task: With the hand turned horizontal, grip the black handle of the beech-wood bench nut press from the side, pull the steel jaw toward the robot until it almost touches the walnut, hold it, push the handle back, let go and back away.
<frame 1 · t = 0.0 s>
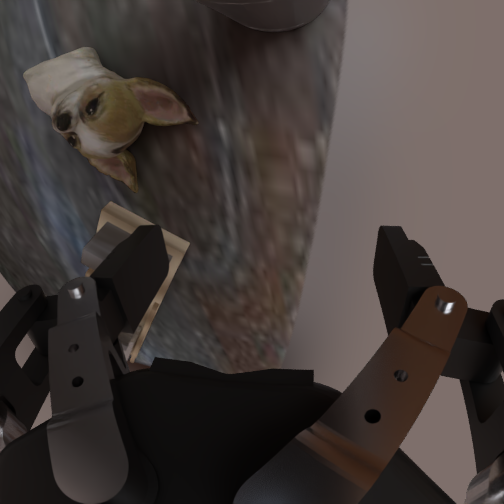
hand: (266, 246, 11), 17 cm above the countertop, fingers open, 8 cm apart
ceramic sculpture: (120, 102, 25), on the countertop
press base: (125, 289, 39), on the countertop
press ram: (82, 380, 32), point 12 cm above the countertop, slide at 0.0 cm
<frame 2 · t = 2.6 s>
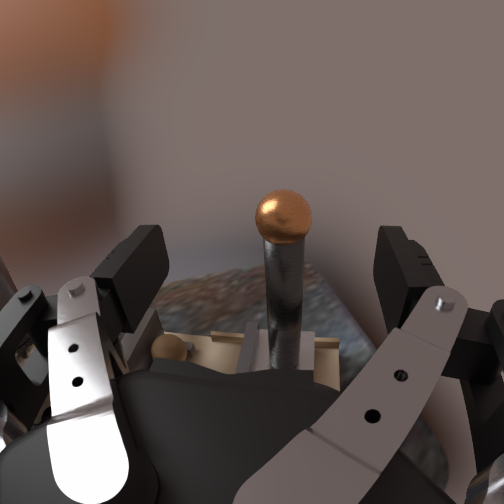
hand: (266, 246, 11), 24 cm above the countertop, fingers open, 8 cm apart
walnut: (173, 362, 34), point 2 cm above the countertop, touching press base
ceramic sculpture: (55, 393, 32), on the countertop
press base: (231, 382, 34), on the countertop
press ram: (277, 304, 27), point 12 cm above the countertop, slide at 0.0 cm
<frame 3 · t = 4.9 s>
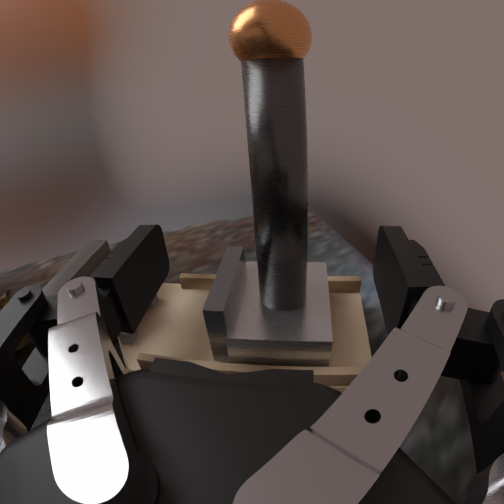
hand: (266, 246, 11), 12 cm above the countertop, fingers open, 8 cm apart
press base: (206, 343, 24), on the countertop
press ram: (268, 187, 17), point 12 cm above the countertop, slide at 0.0 cm
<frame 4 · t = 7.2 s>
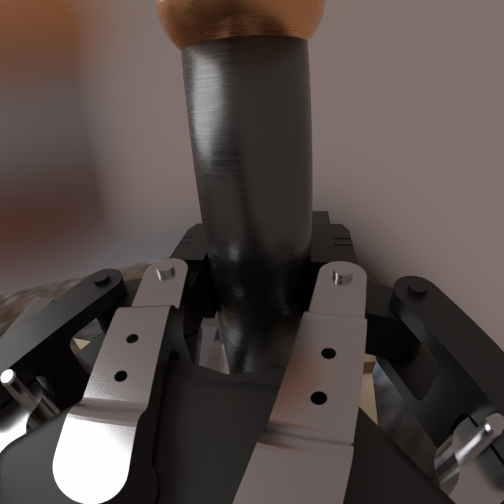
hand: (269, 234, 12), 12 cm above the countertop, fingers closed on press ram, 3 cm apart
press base: (176, 433, 17), on the countertop
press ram: (242, 279, 10), point 12 cm above the countertop, slide at 0.0 cm, touching gripper
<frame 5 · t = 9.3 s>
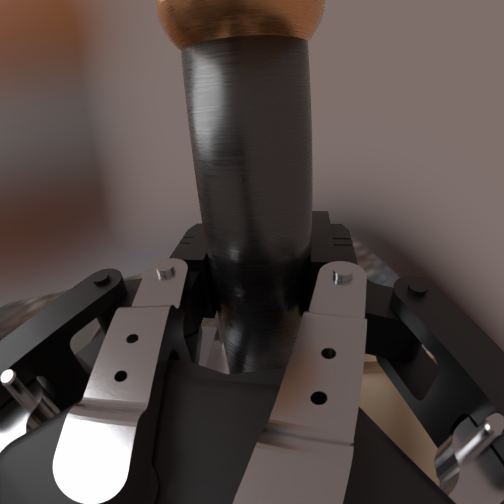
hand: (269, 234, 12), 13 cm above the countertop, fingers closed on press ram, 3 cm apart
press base: (260, 444, 16), on the countertop
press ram: (242, 280, 10), point 12 cm above the countertop, slide at 5.4 cm, touching gripper
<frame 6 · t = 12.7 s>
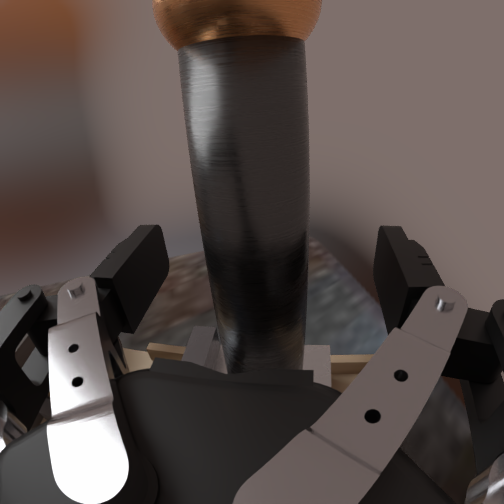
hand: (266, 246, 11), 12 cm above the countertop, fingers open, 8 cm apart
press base: (181, 434, 17), on the countertop
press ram: (239, 280, 10), point 12 cm above the countertop, slide at 0.4 cm
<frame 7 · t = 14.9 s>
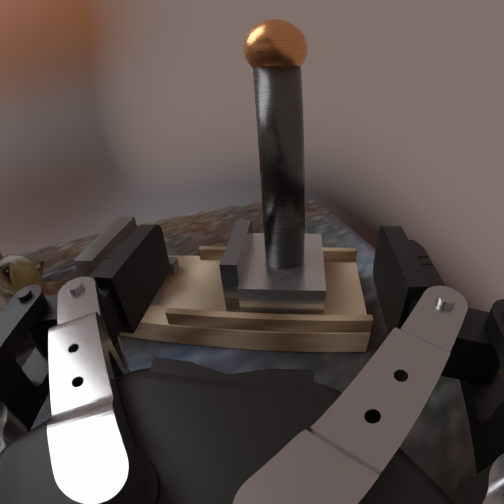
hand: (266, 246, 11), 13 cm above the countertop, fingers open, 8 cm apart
ceramic sculpture: (24, 322, 27), on the countertop
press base: (222, 305, 28), on the countertop
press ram: (273, 166, 21), point 12 cm above the countertop, slide at 0.4 cm
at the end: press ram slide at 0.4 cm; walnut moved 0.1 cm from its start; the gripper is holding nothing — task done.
